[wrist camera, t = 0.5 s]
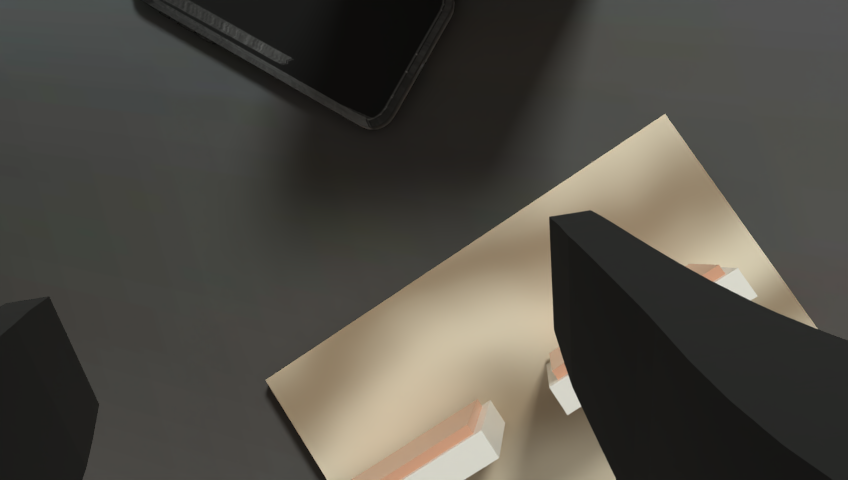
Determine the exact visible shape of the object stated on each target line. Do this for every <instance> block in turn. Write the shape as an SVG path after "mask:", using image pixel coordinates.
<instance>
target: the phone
mask: <svg viewBox="0 0 848 480" xmlns="http://www.w3.org/2000/svg"><path fill="white" fill-rule="evenodd" d="M142 1H143V2H145V3H146V4H148V5H150V6H151V7H153V8H155V9H156V10H158V11H159V13H161V14H162V15H164V16H166V17H167V18H169V19H170V18H172V19H174V20H176V21H177V22H178V23H177V24H179V25H181V26H183V27H184V28H186V29H188V30H189V31H191V32H193V33H194V32H197V33H198V36H199V37H201V38H203V39H204V40H206V41H208V42H210V43H211V44H213V42H214V43H216V44H218V45H219V46H221V47H223V48H225V49H226V50H228V51H230V52H232V53H233V54H235V55H237V56H239V57H240V58H242V59H244V60H246V61H247V62H249V63H251V64H253V65H254V66H256V67H258V68H260V69H261V70H263V71H265V72H266V73H268V74H270V75H272V76H273V77H275V78H277V79H279V80H280V81H282V82H284V83H286V84H287V85H289V86H291V87H293V88H294V89H296V90H298V91H300V92H301V93H303V94H305V95H307V96H308V97H310V98H312V99H314V100H315V101H317V102H319V103H321V104H322V105H324V106H326V107H328V108H329V109H331V110H333V111H335V112H336V113H338V114H340V115H342V116H343V117H345V118H347V119H349V120H350V121H352V122H354V123H356V124H357V125H359V126H361V127H363V128H366V129H370V130H377V129H380V128H383V127H385V126H386V125H388V124H389V123H390V122H391V121H392V119H393V118H394V117H395V115H396V113H397V111H398V110H399V108H400V106H401V104H402V103H403V101H404V99H405V97H406V96H407V94H408V92H409V90H410V89H411V87H412V85H413V83H414V82H415V80H416V78H417V76H418V75H419V73H420V71H421V69H422V68H423V66H424V64H425V62H426V61H427V59H428V57H429V55H430V54H431V52H432V50H433V48H434V47H435V45H436V43H437V41H438V40H439V38H440V36H441V34H442V33H443V31H444V29H445V27H446V26H447V24H448V22H449V20H450V19H451V17H452V14H453V12H454V5H455V2H454V0H142ZM399 104H400V105H399Z"/></svg>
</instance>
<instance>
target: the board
mask: <svg viewBox="0 0 848 480" xmlns="http://www.w3.org/2000/svg"><path fill="white" fill-rule="evenodd" d="M588 210H591V211H593V212H595V213H597V214H599V215H601V216H602V217H604V218H606V219H607V220H609V221H611V222H612V223H614V224H615V225H617V226H619V227H620V228H622V229H624V230H625V231H627V232H628V233H630V234H632V235H633V236H635V237H637V238H638V239H640V240H641V241H643V242H645V243H646V244H648V245H650V246H651V247H653V248H655V249H656V250H658V251H660V252H661V253H663V254H665V255H666V256H668V257H670V258H671V259H673V260H675V261H677V262H678V263H680V264H682V265H684V266H686V265H688V264H714V265H719V266H720V267H728V268H738V269H739V270H740V272H741V273H742V274H743V276H744V277H745V279H746V280H747V282H748V283H749V284H750V286H751V287H752V289H753V290H754V292H755V293H756V294H757V297H756V298H754V299H752V300H751V301H753V302H755V303H757V304H759V305H761V306H763V307H766V308H768V309H770V310H772V311H775V312H777V313H779V314H782V315H784V316H786V317H789V318H791V319H794V320H796V321H799V322H801V323H804V324H806V325H809V326H811V327H813V328H816V329H817V327H816V326H815V325H814V323H813V322H812V320H811V319H810V318H809V316H808V315H807V313H806V312H805V311H804V309H803V308H802V306H801V305H800V303H799V302H798V301H797V299H796V298H795V296H794V295H793V294H792V292H791V291H790V289H789V288H788V287H787V285H786V284H785V282H784V281H783V280H782V278H781V277H780V275H779V274H778V272H777V271H776V270H775V268H774V267H773V265H772V264H771V263H770V261H769V260H768V258H767V257H766V256H765V254H764V253H763V251H762V250H761V249H760V247H759V246H758V244H757V243H756V241H755V240H754V239H753V237H752V236H751V234H750V233H749V232H748V230H747V229H746V227H745V226H744V225H743V223H742V222H741V220H740V219H739V218H738V216H737V215H736V213H735V212H734V210H733V209H732V208H731V206H730V205H729V203H728V202H727V201H726V199H725V198H724V196H723V195H722V194H721V192H720V191H719V189H718V188H717V187H716V185H715V184H714V182H713V181H712V179H711V178H710V177H709V175H708V174H707V172H706V171H705V170H704V168H703V167H702V165H701V164H700V163H699V161H698V160H697V158H696V157H695V156H694V154H693V153H692V151H691V150H690V148H689V147H688V146H687V144H686V143H685V141H684V140H683V139H682V137H681V136H680V134H679V133H678V132H677V130H676V129H675V127H674V126H673V125H672V123H671V122H670V120H669V119H668V117H667V116H666V115H665V114H664V115H663V116H661V117H660V118H658V119H657V120H655V121H654V122H652V123H651V124H649V125H648V126H646V127H645V128H643V129H642V130H640V131H639V132H637V133H636V134H634V135H633V136H631V137H630V138H628V139H627V140H625V141H624V142H622V143H621V144H619V145H618V146H616V147H615V148H613V149H612V150H610V151H609V152H607V153H606V154H604V155H603V156H601V157H600V158H598V159H597V160H595V161H594V162H592V163H591V164H589V165H588V166H586V167H585V168H583V169H582V170H580V171H579V172H577V173H576V174H574V175H573V176H571V177H570V178H568V179H567V180H565V181H564V182H562V183H561V184H559V185H558V186H556V187H555V188H553V189H552V190H550V191H549V192H547V193H546V194H544V195H543V196H541V197H540V198H538V199H537V200H535V201H534V202H532V203H531V204H529V205H528V206H526V207H525V208H523V209H522V210H520V211H519V212H517V213H516V214H514V215H513V216H511V217H510V218H508V219H507V220H505V221H504V222H502V223H501V224H499V225H498V226H496V227H495V228H493V229H492V230H490V231H489V232H487V233H486V234H484V235H483V236H481V237H480V238H478V239H477V240H475V241H474V242H472V243H471V244H469V245H468V246H466V247H465V248H463V249H462V250H460V251H459V252H457V253H456V254H454V255H453V256H451V257H450V258H448V259H447V260H445V261H444V262H442V263H441V264H439V265H438V266H436V267H435V268H433V269H432V270H430V271H429V272H427V273H426V274H424V275H423V276H421V277H420V278H418V279H417V280H415V281H414V282H412V283H411V284H409V285H408V286H406V287H405V288H403V289H402V290H400V291H399V292H397V293H396V294H394V295H393V296H391V297H390V298H388V299H387V300H385V301H384V302H382V303H381V304H379V305H378V306H376V307H375V308H373V309H372V310H370V311H369V312H367V313H366V314H364V315H363V316H361V317H360V318H358V319H357V320H355V321H354V322H352V323H351V324H349V325H348V326H346V327H345V328H343V329H342V330H340V331H339V332H337V333H336V334H334V335H333V336H331V337H330V338H328V339H327V340H325V341H324V342H322V343H321V344H319V345H318V346H316V347H315V348H313V349H312V350H310V351H308V352H307V353H305V354H304V355H302V356H301V357H299V358H298V359H296V360H295V361H293V362H292V363H290V364H289V365H287V366H286V367H284V368H283V369H281V370H280V371H278V372H277V373H275V374H274V375H272V376H271V377H269V378H268V379H266V382H267V383H268V385H269V387H270V388H271V390H272V391H273V393H274V395H275V396H276V398H277V400H278V401H279V403H280V404H281V406H282V408H283V409H284V411H285V413H286V414H287V416H288V417H289V419H290V421H291V422H292V424H293V425H294V427H295V429H296V430H297V432H298V434H299V435H300V437H301V438H302V440H303V442H304V443H305V445H306V447H307V448H308V450H309V451H310V453H311V455H312V456H313V458H314V460H315V461H316V463H317V464H318V466H319V468H320V469H321V471H322V472H323V474H324V476H325V477H326V479H327V480H351V479H353V478H354V477H356V476H357V475H359V474H361V473H362V472H364V471H365V470H367V469H368V468H370V467H372V466H373V465H375V464H376V463H378V462H379V461H381V460H382V459H384V458H386V457H387V456H389V455H390V454H392V453H393V452H395V451H397V450H398V449H400V448H401V447H403V446H404V445H406V444H408V443H409V442H411V441H412V440H414V439H415V438H417V437H419V436H420V435H422V434H423V433H425V432H426V431H428V430H429V429H431V428H433V427H434V426H436V425H437V424H439V423H440V422H442V421H444V420H445V419H447V418H448V417H450V416H451V415H453V414H455V413H456V412H458V411H459V410H461V409H462V408H464V407H466V406H467V405H469V404H470V403H472V402H473V401H475V400H476V399H478V400H479V402H480V403H481V405H483V404H485V403H487V402H488V401H490V400H491V402H492V403H493V405H494V406H495V408H496V409H497V411H498V412H499V414H500V416H501V417H502V419H503V420H504V422H505V427H504V433H503V439H502V445H501V450H500V456H499V458H498V459H497V460H495V461H494V462H492V463H490V464H489V465H487V466H486V467H484V468H482V469H481V470H479V471H478V472H476V473H474V474H473V475H471V476H470V477H468V478H466V479H465V480H616V478H615V476H614V474H613V472H612V470H611V468H610V465H609V463H608V461H607V459H606V457H605V455H604V453H603V451H602V449H601V447H600V445H599V443H598V440H597V438H596V436H595V434H594V432H593V430H592V428H591V426H590V424H589V422H588V419H587V417H586V415H585V413H584V411H583V409H582V407H580V408H578V409H577V410H575V411H573V412H572V413H570V414H569V415H567V414H566V412H565V411H564V409H563V408H562V406H561V405H560V403H559V402H558V400H557V398H556V397H555V395H554V394H553V392H552V391H551V389H550V388H549V382H548V374H547V366H546V364H548V363H549V362H550V356H549V353H550V352H552V351H553V350H555V349H556V348H558V347H559V345H558V341H557V338H556V335H555V332H554V321H553V297H552V274H551V251H550V227H549V217H551V216H557V215H563V214H570V213H576V212H582V211H588Z"/></svg>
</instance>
